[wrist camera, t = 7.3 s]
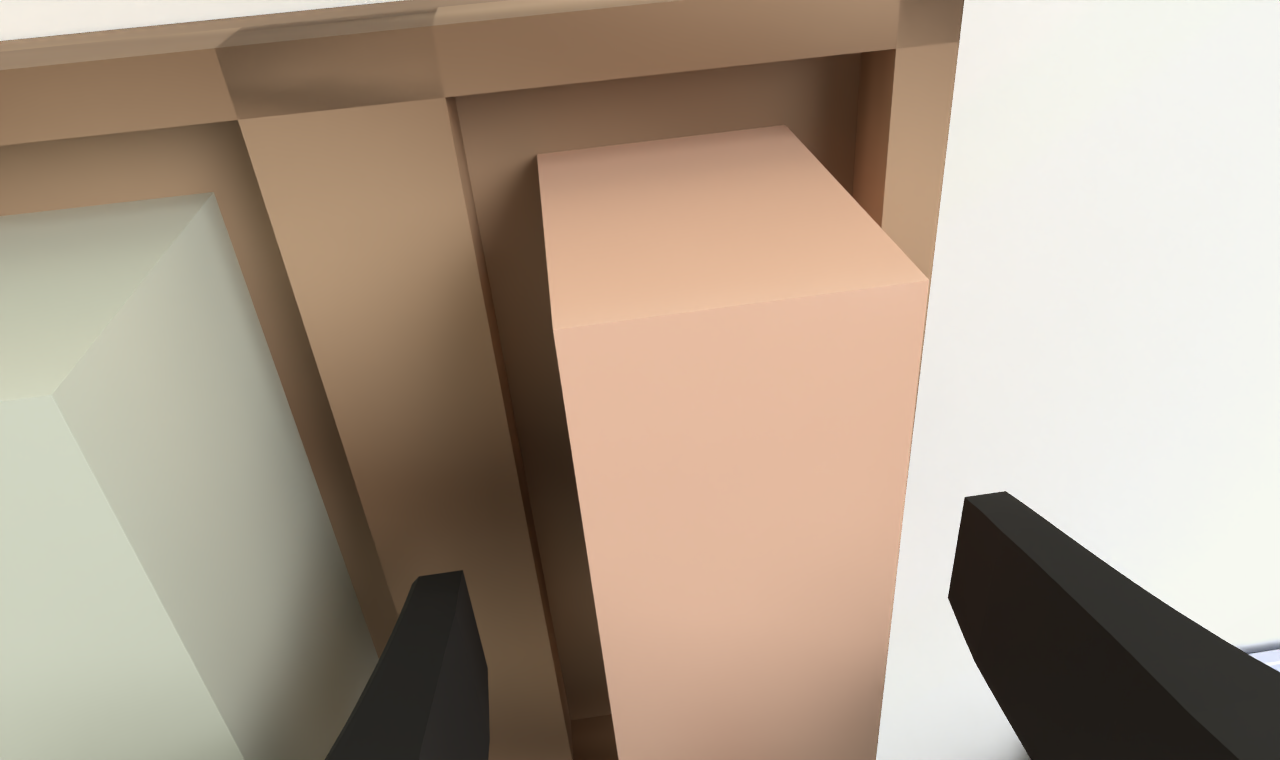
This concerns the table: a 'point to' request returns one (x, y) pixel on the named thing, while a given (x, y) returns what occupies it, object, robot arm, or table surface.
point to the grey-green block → (158, 505)
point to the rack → (461, 245)
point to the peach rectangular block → (734, 438)
